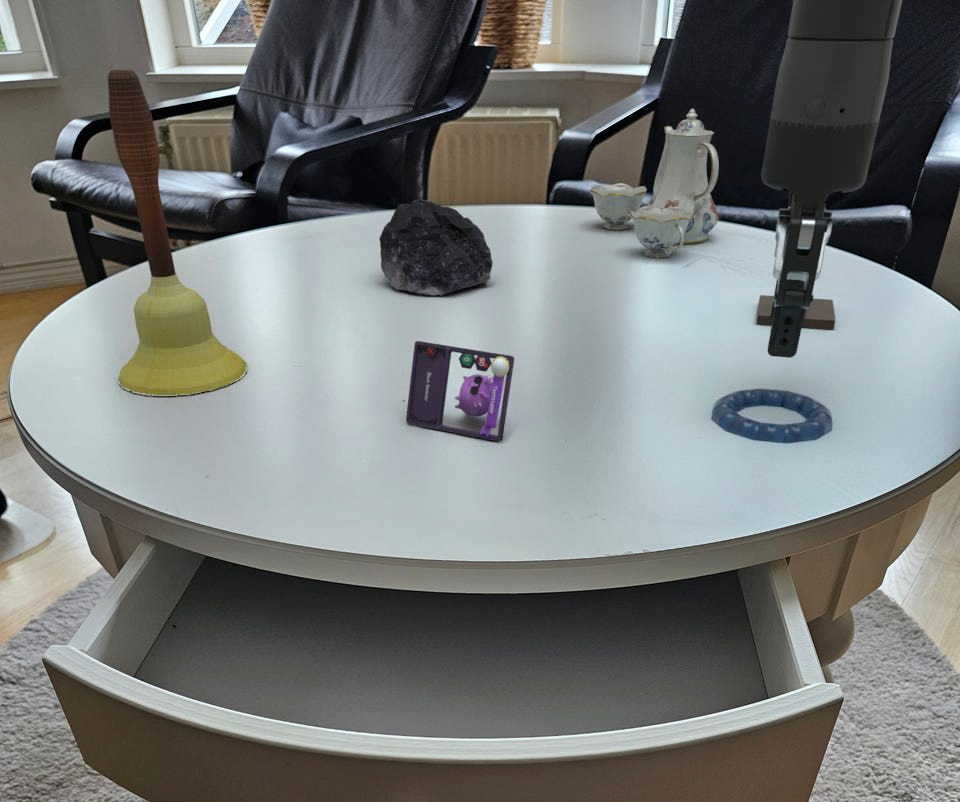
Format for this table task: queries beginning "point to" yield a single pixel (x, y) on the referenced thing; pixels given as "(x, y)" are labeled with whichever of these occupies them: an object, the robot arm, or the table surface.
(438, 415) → the game card
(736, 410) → the ring
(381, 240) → the dark grey rock
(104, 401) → the table surface
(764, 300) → the post
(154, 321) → the handbell
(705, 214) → the chinaware
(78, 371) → the table surface
